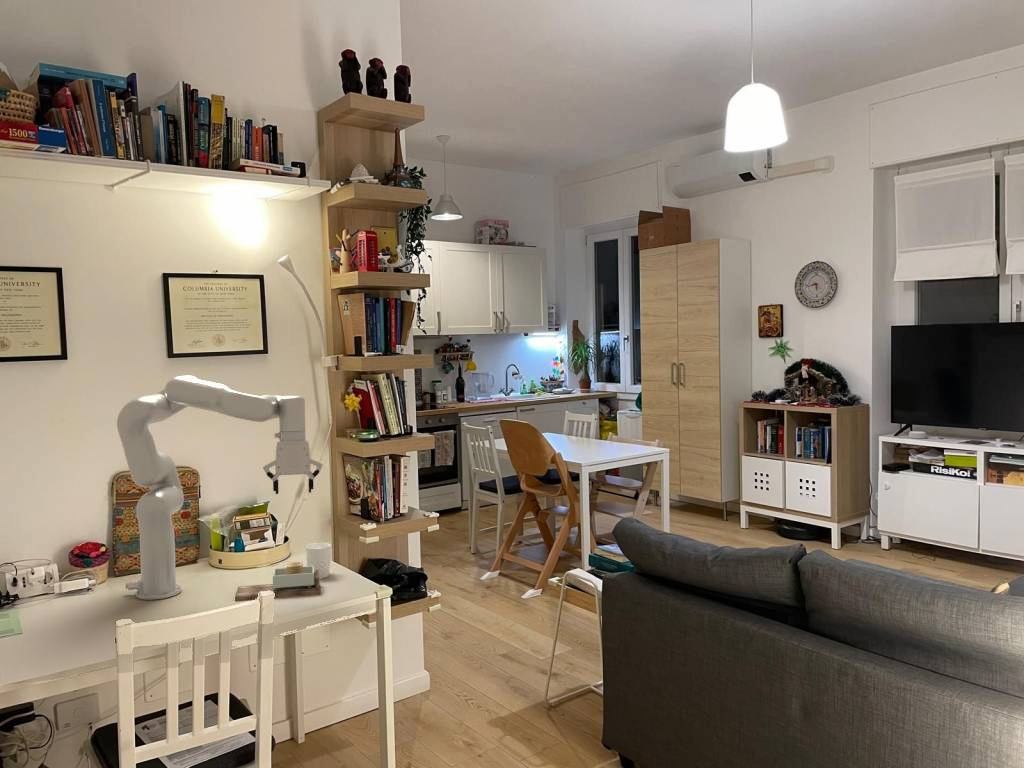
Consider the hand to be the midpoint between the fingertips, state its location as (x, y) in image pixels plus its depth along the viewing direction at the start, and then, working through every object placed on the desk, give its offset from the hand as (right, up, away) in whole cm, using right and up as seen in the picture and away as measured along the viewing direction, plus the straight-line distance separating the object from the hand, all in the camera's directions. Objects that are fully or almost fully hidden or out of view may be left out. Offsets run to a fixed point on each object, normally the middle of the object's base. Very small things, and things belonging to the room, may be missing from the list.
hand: (293, 492), depth 234 cm
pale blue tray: (0, -29, +1) cm, 29 cm away
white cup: (+3, -30, +17) cm, 34 cm away
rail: (-5, -30, 0) cm, 31 cm away
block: (0, -27, +1) cm, 27 cm away
